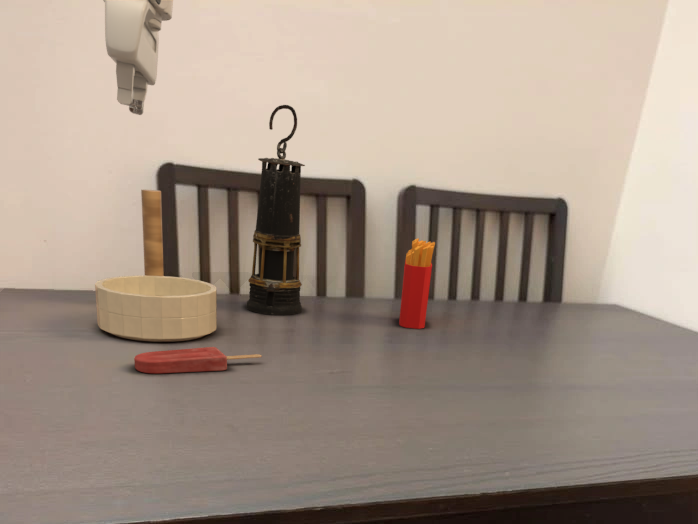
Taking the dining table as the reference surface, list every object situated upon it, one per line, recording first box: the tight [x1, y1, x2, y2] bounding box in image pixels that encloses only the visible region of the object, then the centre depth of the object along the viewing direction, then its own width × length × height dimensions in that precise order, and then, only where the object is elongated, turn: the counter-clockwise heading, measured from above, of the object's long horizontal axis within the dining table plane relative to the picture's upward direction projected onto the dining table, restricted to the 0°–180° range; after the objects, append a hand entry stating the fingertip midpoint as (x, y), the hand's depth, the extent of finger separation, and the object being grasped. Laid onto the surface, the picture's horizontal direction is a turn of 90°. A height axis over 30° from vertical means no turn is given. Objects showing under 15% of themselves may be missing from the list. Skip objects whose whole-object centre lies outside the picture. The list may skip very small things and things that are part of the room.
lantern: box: [245, 104, 306, 316], centre depth 113 cm, size 9×9×30 cm
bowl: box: [94, 274, 218, 343], centre depth 99 cm, size 16×16×6 cm
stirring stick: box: [140, 189, 165, 276], centre depth 110 cm, size 4×4×17 cm
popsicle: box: [133, 346, 263, 375], centre depth 85 cm, size 4×2×15 cm
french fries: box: [398, 237, 436, 330], centre depth 115 cm, size 9×4×13 cm, turn 177°
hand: (130, 109), depth 101 cm, fingers open, 8 cm apart
